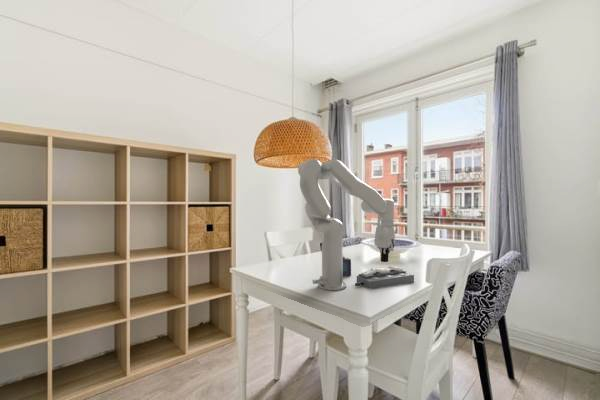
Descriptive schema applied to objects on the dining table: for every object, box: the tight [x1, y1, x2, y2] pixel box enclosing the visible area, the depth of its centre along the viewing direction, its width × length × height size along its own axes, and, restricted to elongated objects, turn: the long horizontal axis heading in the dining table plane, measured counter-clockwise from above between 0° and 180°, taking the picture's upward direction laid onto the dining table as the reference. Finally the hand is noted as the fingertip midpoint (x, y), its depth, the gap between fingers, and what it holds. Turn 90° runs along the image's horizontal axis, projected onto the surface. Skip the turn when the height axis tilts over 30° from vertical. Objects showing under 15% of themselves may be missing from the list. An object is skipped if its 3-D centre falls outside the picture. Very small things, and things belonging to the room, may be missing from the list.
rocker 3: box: [387, 265, 404, 271], centre depth 137 cm, size 6×4×1 cm, turn 113°
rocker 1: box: [361, 268, 377, 276], centre depth 131 cm, size 6×4×1 cm, turn 113°
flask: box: [343, 256, 352, 277], centre depth 146 cm, size 9×3×11 cm, turn 72°
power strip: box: [354, 269, 415, 290], centre depth 131 cm, size 30×10×4 cm, turn 113°
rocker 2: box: [374, 267, 391, 273], centre depth 134 cm, size 6×4×1 cm, turn 113°
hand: (384, 261), depth 135 cm, fingers closed
